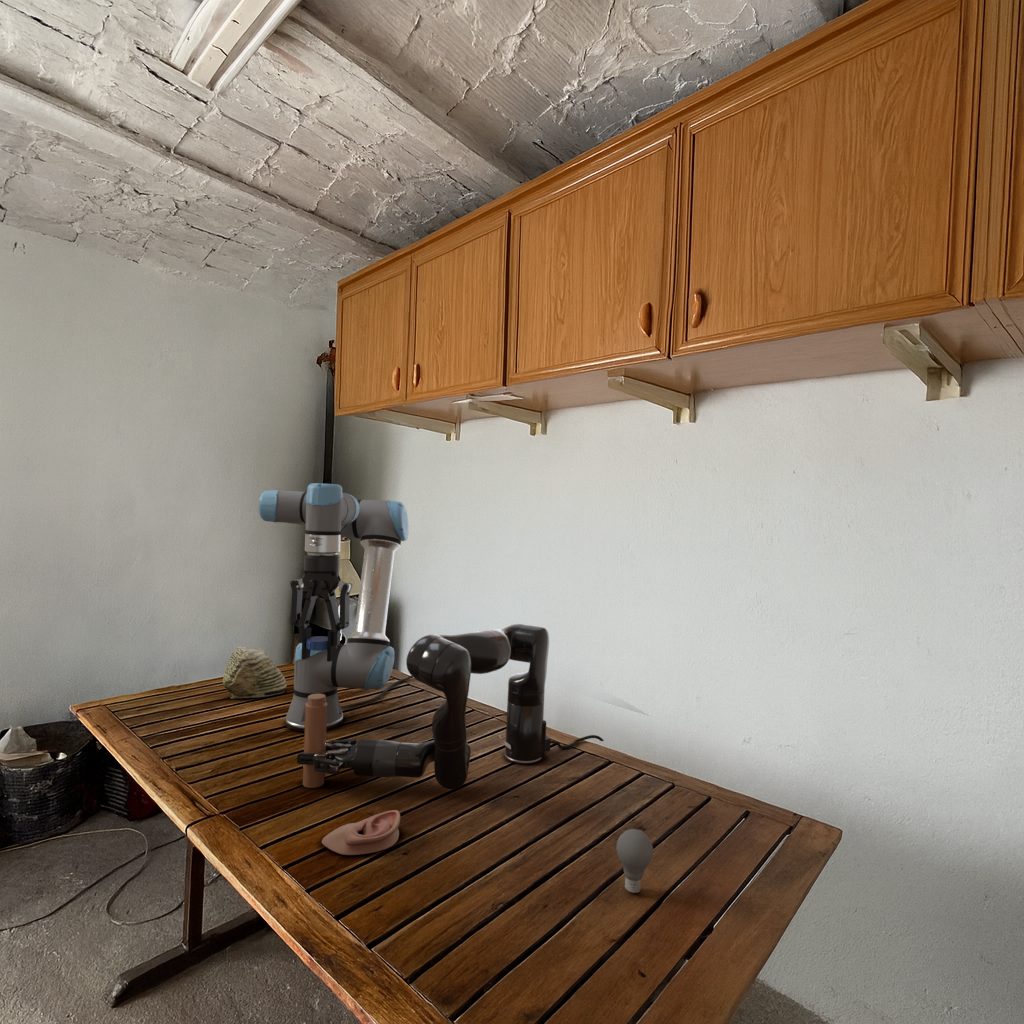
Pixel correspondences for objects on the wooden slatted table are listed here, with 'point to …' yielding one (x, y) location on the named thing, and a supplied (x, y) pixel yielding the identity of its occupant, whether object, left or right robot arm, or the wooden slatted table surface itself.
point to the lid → (317, 643)
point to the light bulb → (634, 857)
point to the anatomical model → (365, 835)
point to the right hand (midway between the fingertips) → (302, 753)
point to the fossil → (252, 674)
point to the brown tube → (314, 737)
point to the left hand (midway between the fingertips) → (318, 658)
